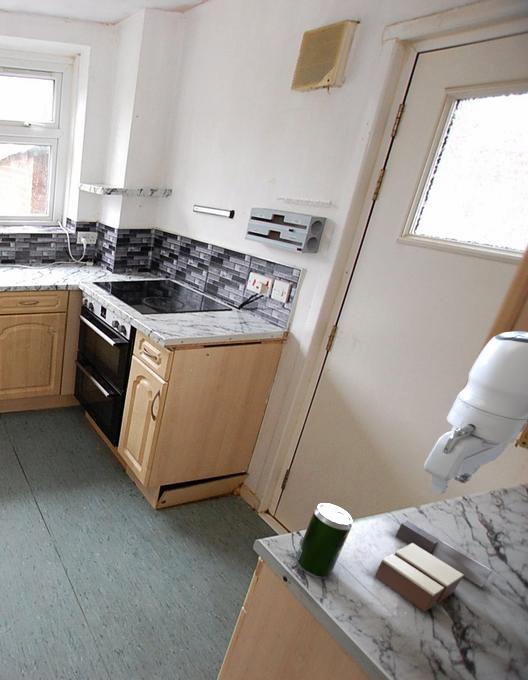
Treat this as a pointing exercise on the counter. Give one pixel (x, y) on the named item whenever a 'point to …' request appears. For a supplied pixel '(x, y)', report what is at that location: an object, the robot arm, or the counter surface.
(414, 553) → the cake
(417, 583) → the cake slice
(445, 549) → the knife
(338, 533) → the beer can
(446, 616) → the counter surface
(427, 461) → the robot arm
